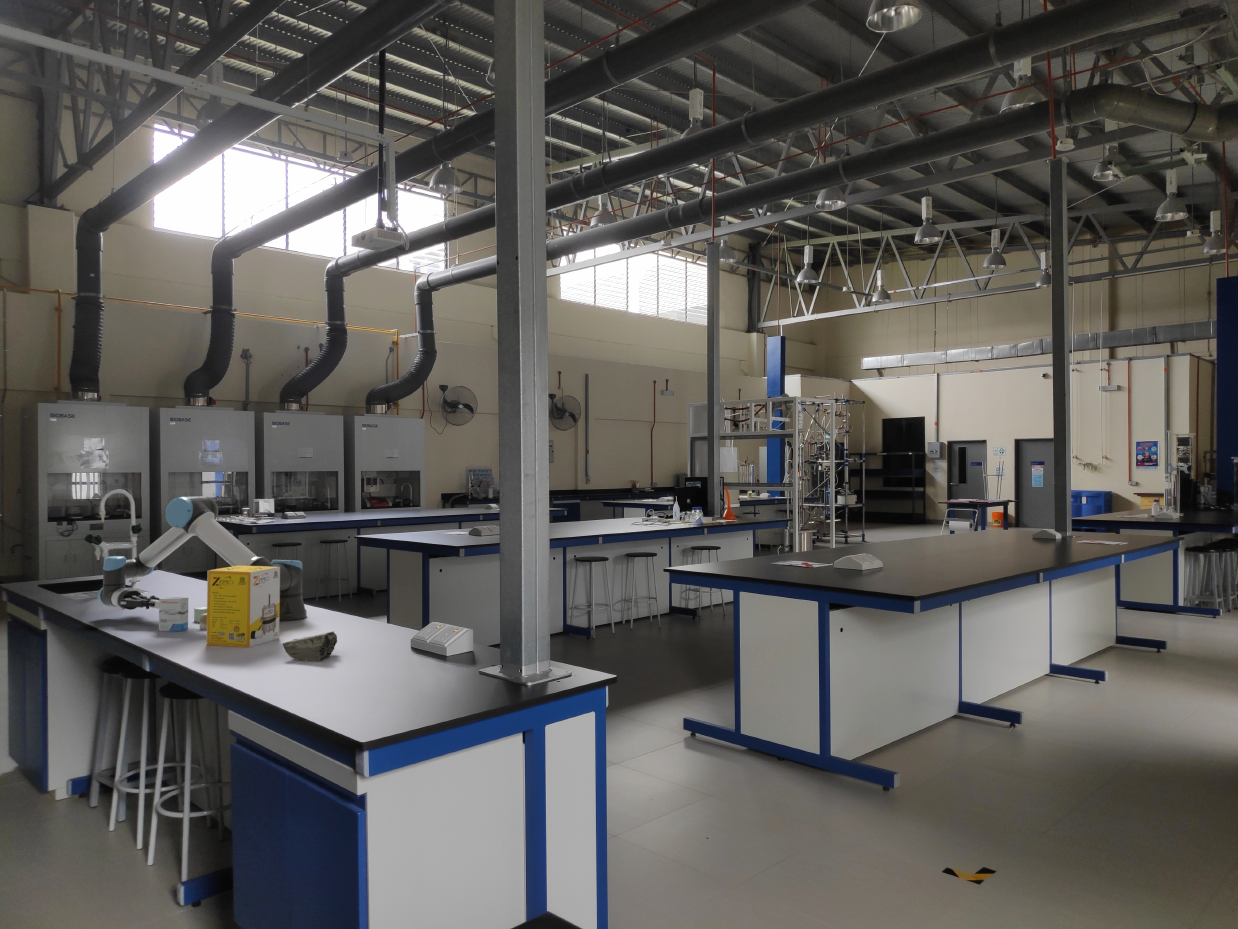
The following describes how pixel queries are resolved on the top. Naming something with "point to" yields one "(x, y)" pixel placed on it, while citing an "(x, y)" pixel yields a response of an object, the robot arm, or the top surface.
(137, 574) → the robot arm
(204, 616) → the birch cube
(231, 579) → the packaging box
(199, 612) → the sage cube
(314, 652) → the concrete fragment
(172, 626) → the ink box
